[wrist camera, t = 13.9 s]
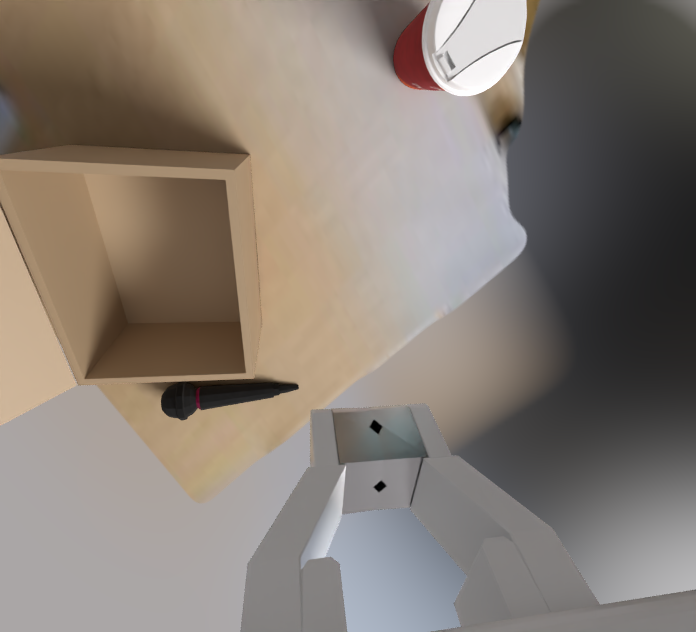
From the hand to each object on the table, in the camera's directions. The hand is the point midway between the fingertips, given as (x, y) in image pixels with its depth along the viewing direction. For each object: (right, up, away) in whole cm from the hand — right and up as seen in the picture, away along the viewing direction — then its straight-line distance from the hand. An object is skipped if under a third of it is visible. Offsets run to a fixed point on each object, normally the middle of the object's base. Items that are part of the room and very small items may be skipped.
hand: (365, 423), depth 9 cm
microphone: (-19, -9, +46) cm, 51 cm away
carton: (-21, +11, +34) cm, 41 cm away
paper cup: (+7, +30, +27) cm, 41 cm away
